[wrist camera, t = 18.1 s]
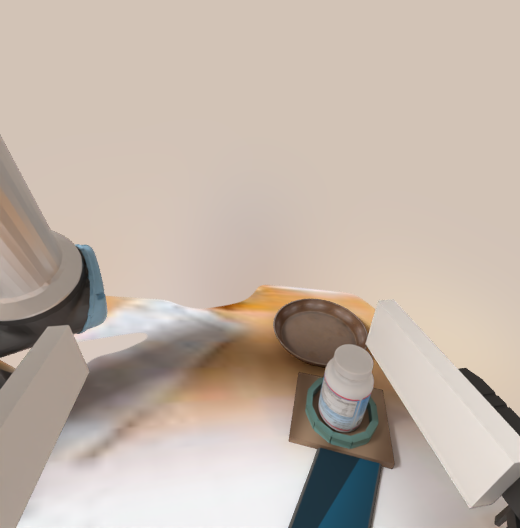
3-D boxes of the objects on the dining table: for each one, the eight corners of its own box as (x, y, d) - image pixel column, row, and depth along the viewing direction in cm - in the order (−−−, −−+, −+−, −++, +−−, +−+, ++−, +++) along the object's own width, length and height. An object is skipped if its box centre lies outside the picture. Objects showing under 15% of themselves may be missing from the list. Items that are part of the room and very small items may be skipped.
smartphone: (279, 551, 28) (279, 548, 27) (327, 423, 39) (328, 419, 39) (354, 613, 24) (356, 610, 24) (383, 453, 36) (385, 450, 35)
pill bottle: (345, 388, 42) (359, 335, 37) (370, 426, 37) (391, 371, 32) (310, 399, 41) (319, 345, 35) (331, 440, 36) (346, 385, 30)
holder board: (288, 441, 36) (290, 430, 35) (298, 376, 45) (299, 365, 44) (392, 468, 34) (398, 457, 33) (380, 394, 43) (385, 383, 41)
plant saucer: (352, 311, 61) (355, 300, 59) (377, 379, 45) (382, 367, 44) (273, 306, 61) (274, 295, 60) (271, 373, 46) (272, 360, 45)
